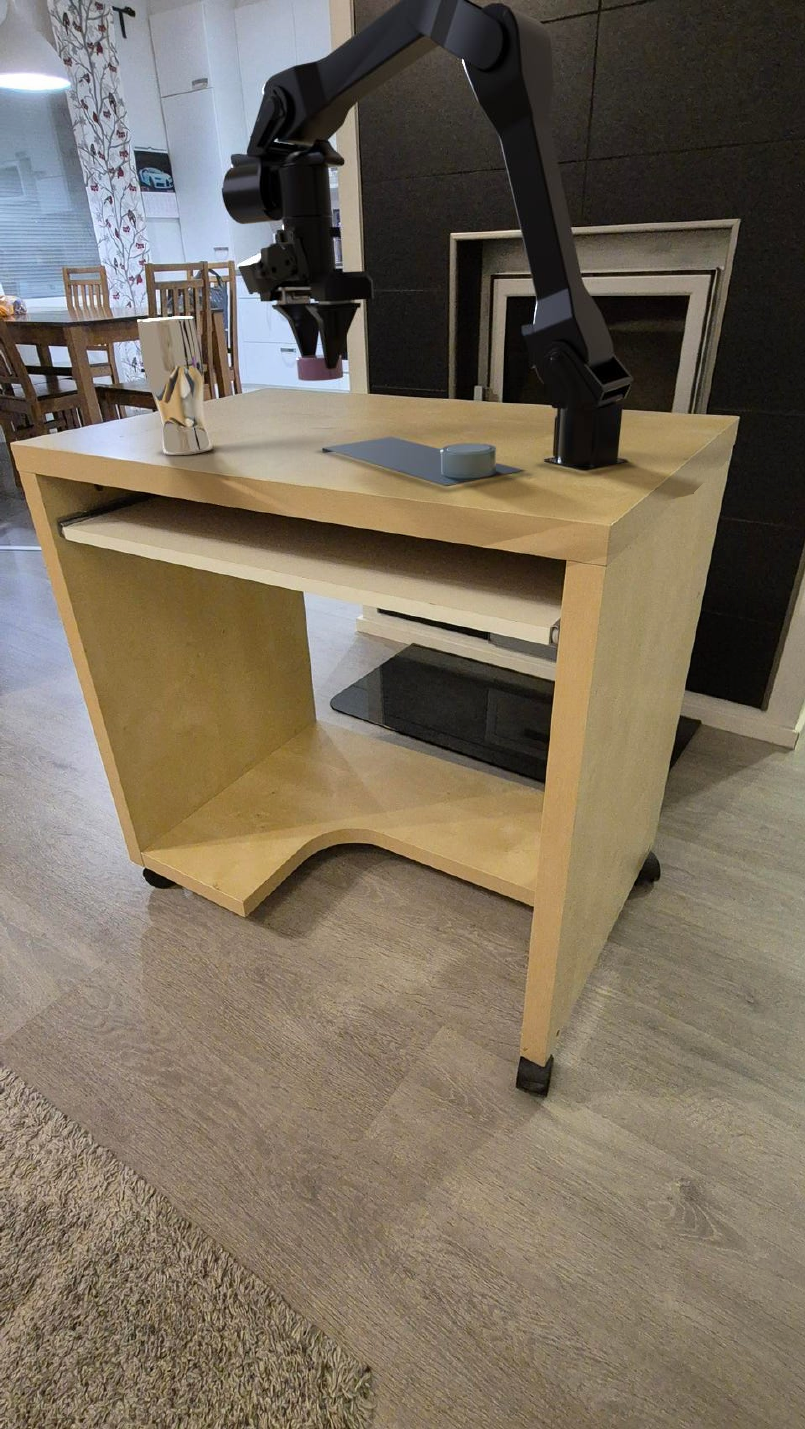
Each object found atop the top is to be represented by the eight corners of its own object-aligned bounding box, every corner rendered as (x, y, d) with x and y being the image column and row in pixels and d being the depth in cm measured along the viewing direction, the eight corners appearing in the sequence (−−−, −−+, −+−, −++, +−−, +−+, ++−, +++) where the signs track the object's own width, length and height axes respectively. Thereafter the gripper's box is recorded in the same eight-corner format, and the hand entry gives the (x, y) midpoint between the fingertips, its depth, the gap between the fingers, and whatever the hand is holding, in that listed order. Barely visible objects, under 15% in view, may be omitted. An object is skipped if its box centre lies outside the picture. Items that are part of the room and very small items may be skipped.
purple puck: (351, 377, 95) (349, 355, 94) (310, 382, 93) (308, 359, 92) (330, 374, 100) (328, 353, 98) (290, 378, 97) (288, 357, 96)
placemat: (524, 475, 79) (524, 470, 79) (445, 491, 75) (445, 485, 75) (391, 440, 99) (391, 436, 98) (322, 451, 94) (321, 447, 94)
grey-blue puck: (507, 473, 78) (507, 448, 77) (462, 481, 76) (462, 456, 75) (473, 464, 83) (473, 440, 81) (430, 472, 80) (430, 447, 79)
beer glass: (201, 456, 95) (179, 319, 87) (149, 456, 96) (123, 321, 88) (224, 445, 100) (205, 316, 93) (175, 445, 102) (152, 318, 94)
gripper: (210, 225, 91) (230, 368, 99) (276, 211, 77) (293, 379, 85) (295, 224, 96) (308, 360, 104) (372, 211, 82) (379, 370, 90)
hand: (319, 367), depth 96 cm, fingers closed on purple puck, 5 cm apart
